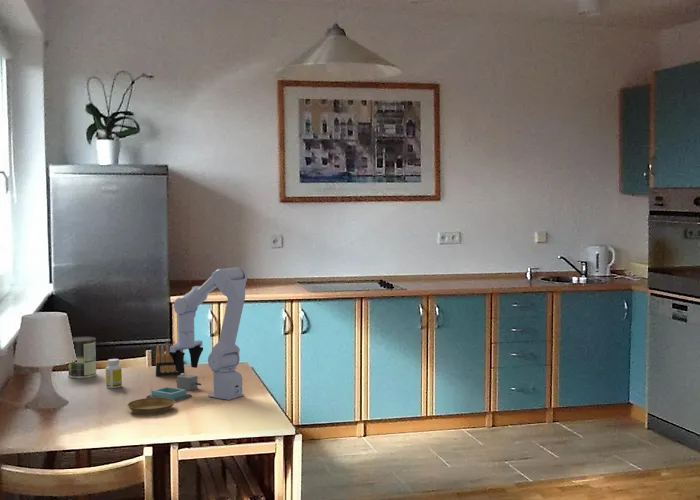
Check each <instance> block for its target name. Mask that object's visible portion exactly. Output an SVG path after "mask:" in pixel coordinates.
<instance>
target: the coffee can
mask: <svg viewBox="0 0 700 500" xmlns="http://www.w3.org/2000/svg"><path fill="white" fill-rule="evenodd" d="M71 338H72V340H73V344H74V349H75V353H76V357H77V362H75V363H72V364H69V365H68V364H67V365H68V366H67V367H68V377H69V378H71V379H87V378H92V377H96V376H97V357H96V356H97V355H96V351H97V349H96V340H97V338H96V337H94V336H75V337H74V336H73V337H71Z"/></svg>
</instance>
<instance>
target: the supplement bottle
mask: <svg viewBox="0 0 700 500" xmlns="http://www.w3.org/2000/svg"><path fill="white" fill-rule="evenodd" d="M122 374H123V373H122V366H121V365H120V359H119V358H109V359H107V366H106V367H105V385H106V386H105V387H106V388H108V389H117V388H118V389H119V388H122V385H123V380H122V379H123V378H122V377H123V376H122Z"/></svg>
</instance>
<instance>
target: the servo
mask: <svg viewBox="0 0 700 500" xmlns="http://www.w3.org/2000/svg"><path fill="white" fill-rule="evenodd" d="M198 386H202V383H199V382H198V376H197V375H193V374H186V373H182V374H181V375H176V388H179V389H185V390H187V391H192V390H197V389H198Z"/></svg>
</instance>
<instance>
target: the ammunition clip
mask: <svg viewBox="0 0 700 500" xmlns="http://www.w3.org/2000/svg"><path fill="white" fill-rule="evenodd" d="M177 343H178V342H176V343H175V345H176V344H177ZM173 345H174V344H173V343H171V344H170V346H173ZM170 346H169V344H168V343H166V346H165V347H164V344H161V347H160V346H159V344H157V345H156V348H155V349H156V350H155V351H156V353H155V354H156V355H155V377H169V376H179V375H181V374H182V373H185V357H184V358H183V368H182V372H179V371H176V367H175V364H174V361H173V359H172V357H171V355H170V354H169V351H170ZM180 351H181V352H183V353H184V350H180ZM185 374H186V373H185Z"/></svg>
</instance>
